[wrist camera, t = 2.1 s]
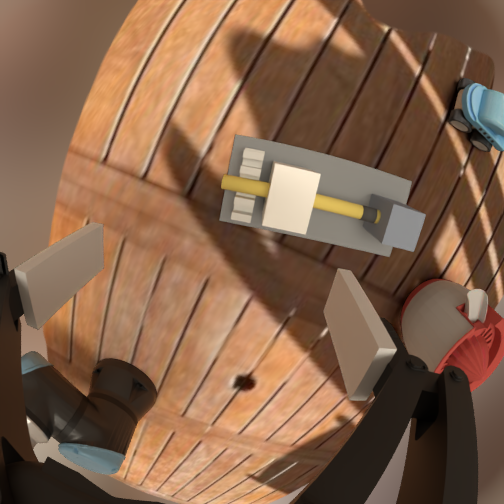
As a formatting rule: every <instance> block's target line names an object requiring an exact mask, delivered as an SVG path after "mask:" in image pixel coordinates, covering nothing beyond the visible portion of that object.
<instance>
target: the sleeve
mask: <svg viewBox="0 0 504 504" xmlns="http://www.w3.org/2000/svg"><path fill="white" fill-rule="evenodd" d="M320 175H321V174H320V173H317V172H315V171H313V170H311V169H307V168H303V167H299V166H294V165H290V164H286V163H281V162H277V161H273V164H272V169H271V173H270V178H269V183H270V187H269V191H268V196H267V198H266V197H265V201H264V206H263V211H262V226H267V227H271V228H276V229H281V230H286V231H291V232H295V233H300V234H305V235H306V232H307V228H308V224H309V220H310V216H311V212H312V208H313V204H314V200H315V196H316V192H317V188H318V184H319V180H320Z"/></svg>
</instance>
